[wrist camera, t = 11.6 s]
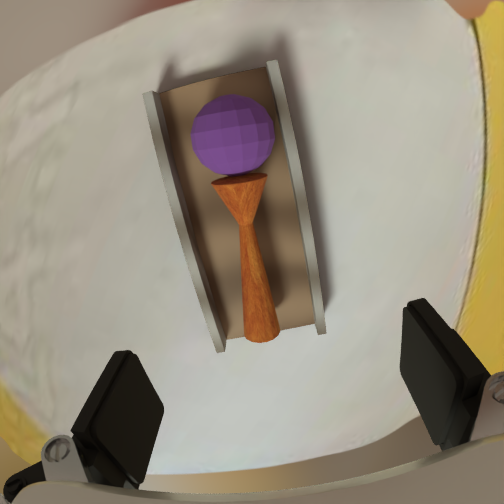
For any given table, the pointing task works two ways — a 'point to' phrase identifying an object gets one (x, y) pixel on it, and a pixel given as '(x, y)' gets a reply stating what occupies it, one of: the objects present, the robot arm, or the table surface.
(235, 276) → the rail cradle
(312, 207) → the table surface
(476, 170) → the table surface
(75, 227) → the table surface
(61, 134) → the table surface
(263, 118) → the kendama
